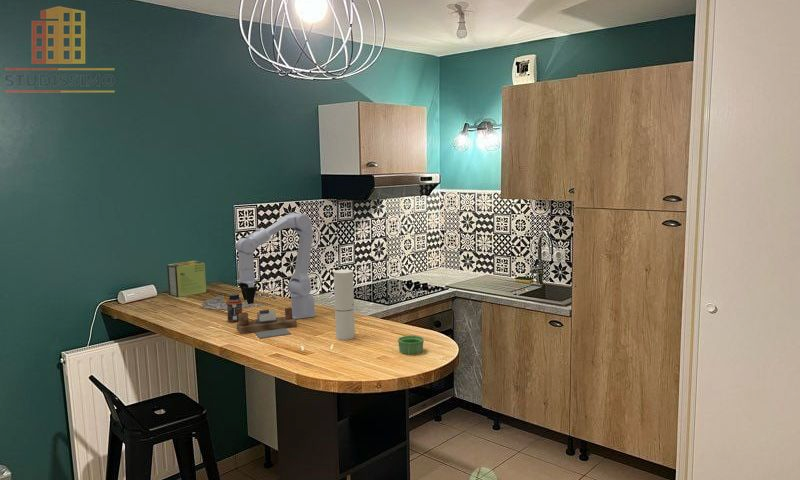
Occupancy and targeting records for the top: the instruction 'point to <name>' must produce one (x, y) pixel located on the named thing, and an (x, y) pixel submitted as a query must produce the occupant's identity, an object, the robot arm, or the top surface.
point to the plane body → (265, 323)
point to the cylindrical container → (344, 304)
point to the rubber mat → (272, 333)
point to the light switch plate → (266, 315)
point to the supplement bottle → (234, 307)
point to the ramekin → (411, 344)
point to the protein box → (186, 278)
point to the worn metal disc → (218, 304)
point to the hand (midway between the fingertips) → (248, 301)
